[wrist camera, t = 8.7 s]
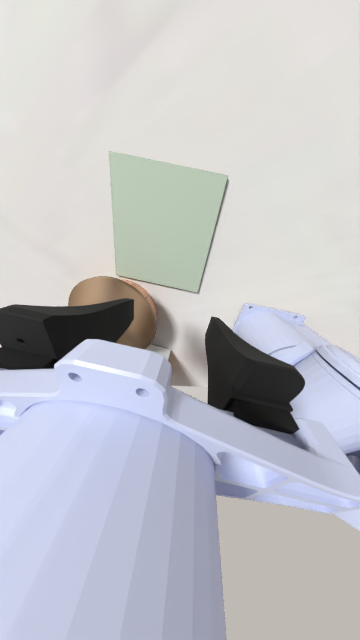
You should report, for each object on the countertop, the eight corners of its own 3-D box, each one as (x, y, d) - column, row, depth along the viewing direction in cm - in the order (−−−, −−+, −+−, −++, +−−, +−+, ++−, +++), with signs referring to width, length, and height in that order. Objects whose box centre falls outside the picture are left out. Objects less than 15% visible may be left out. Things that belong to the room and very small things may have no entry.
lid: (162, 286, 18) (148, 301, 13) (154, 355, 24) (142, 383, 19) (69, 266, 18) (19, 273, 13) (85, 339, 24) (56, 363, 19)
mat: (227, 177, 14) (228, 175, 14) (197, 291, 21) (197, 292, 20) (111, 153, 14) (109, 151, 14) (117, 274, 21) (116, 274, 20)
